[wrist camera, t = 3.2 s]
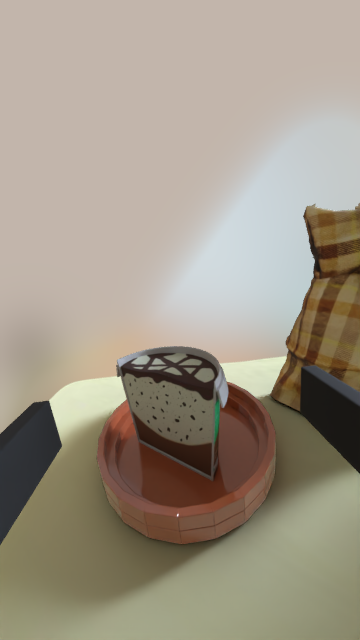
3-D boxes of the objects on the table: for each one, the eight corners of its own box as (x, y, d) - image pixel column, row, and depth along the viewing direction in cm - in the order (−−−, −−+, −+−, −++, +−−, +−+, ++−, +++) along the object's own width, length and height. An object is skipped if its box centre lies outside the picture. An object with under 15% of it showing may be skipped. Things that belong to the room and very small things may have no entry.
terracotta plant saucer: (237, 385, 32) (236, 369, 31) (326, 524, 14) (328, 493, 13) (124, 401, 31) (121, 385, 31) (66, 567, 13) (56, 537, 13)
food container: (249, 437, 22) (245, 351, 19) (229, 490, 17) (221, 383, 14) (161, 406, 28) (151, 340, 26) (129, 437, 23) (113, 359, 21)
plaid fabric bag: (295, 357, 37) (293, 207, 27) (407, 380, 27) (465, 163, 17) (266, 412, 28) (247, 222, 18) (414, 475, 19) (537, 151, 9)
